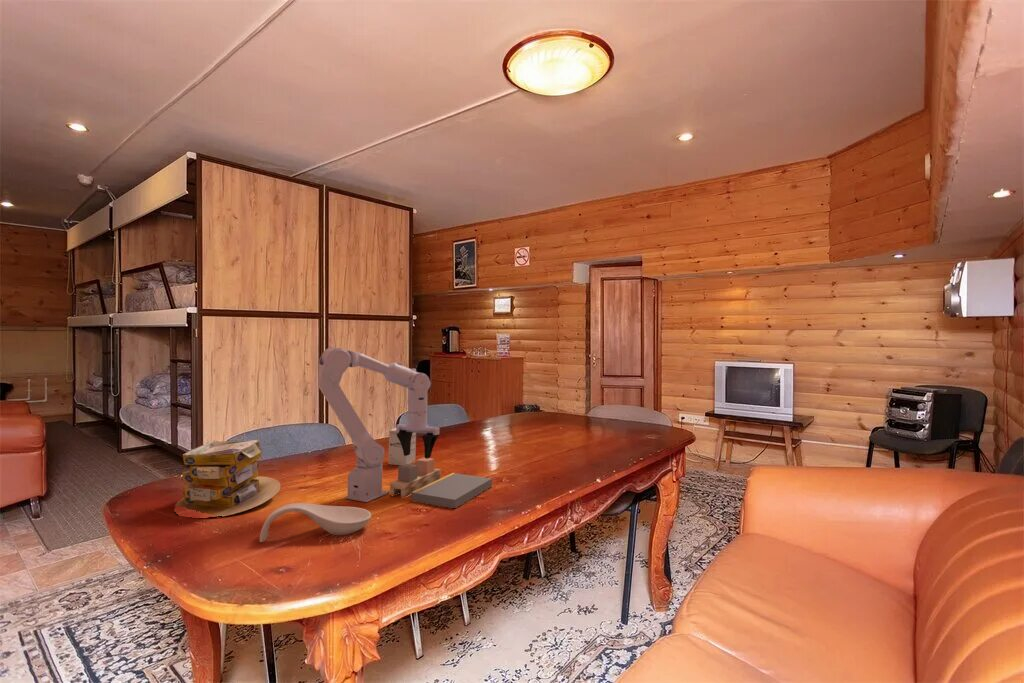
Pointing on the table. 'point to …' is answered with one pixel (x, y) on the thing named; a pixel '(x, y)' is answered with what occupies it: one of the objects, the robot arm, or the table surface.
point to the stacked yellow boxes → (225, 478)
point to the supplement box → (400, 449)
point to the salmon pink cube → (425, 465)
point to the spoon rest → (324, 517)
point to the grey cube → (407, 472)
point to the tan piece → (414, 483)
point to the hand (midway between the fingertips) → (417, 456)
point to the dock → (451, 490)
